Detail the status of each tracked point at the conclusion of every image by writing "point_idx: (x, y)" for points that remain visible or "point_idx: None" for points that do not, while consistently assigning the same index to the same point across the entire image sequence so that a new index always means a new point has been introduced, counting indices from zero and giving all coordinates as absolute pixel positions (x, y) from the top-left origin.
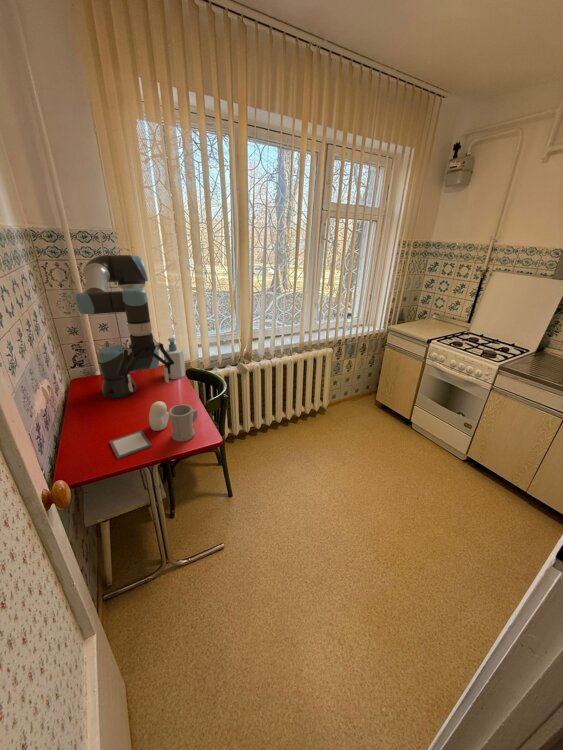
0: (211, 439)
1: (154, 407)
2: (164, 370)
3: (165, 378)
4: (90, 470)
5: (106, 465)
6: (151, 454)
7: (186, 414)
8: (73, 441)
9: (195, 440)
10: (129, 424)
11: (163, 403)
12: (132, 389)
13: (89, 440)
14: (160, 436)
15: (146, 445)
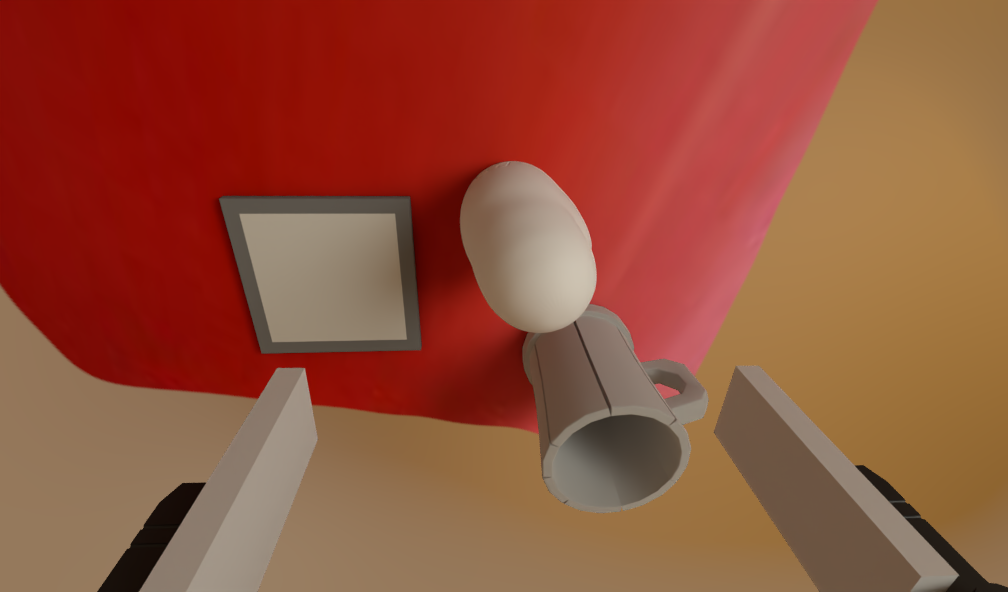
0: None
1: (502, 315)
2: (835, 536)
3: (751, 419)
4: (150, 355)
5: (217, 360)
6: (404, 390)
7: (615, 511)
8: None
9: None
10: (356, 58)
11: (579, 312)
12: (306, 461)
13: (95, 95)
14: (482, 296)
15: (398, 339)
